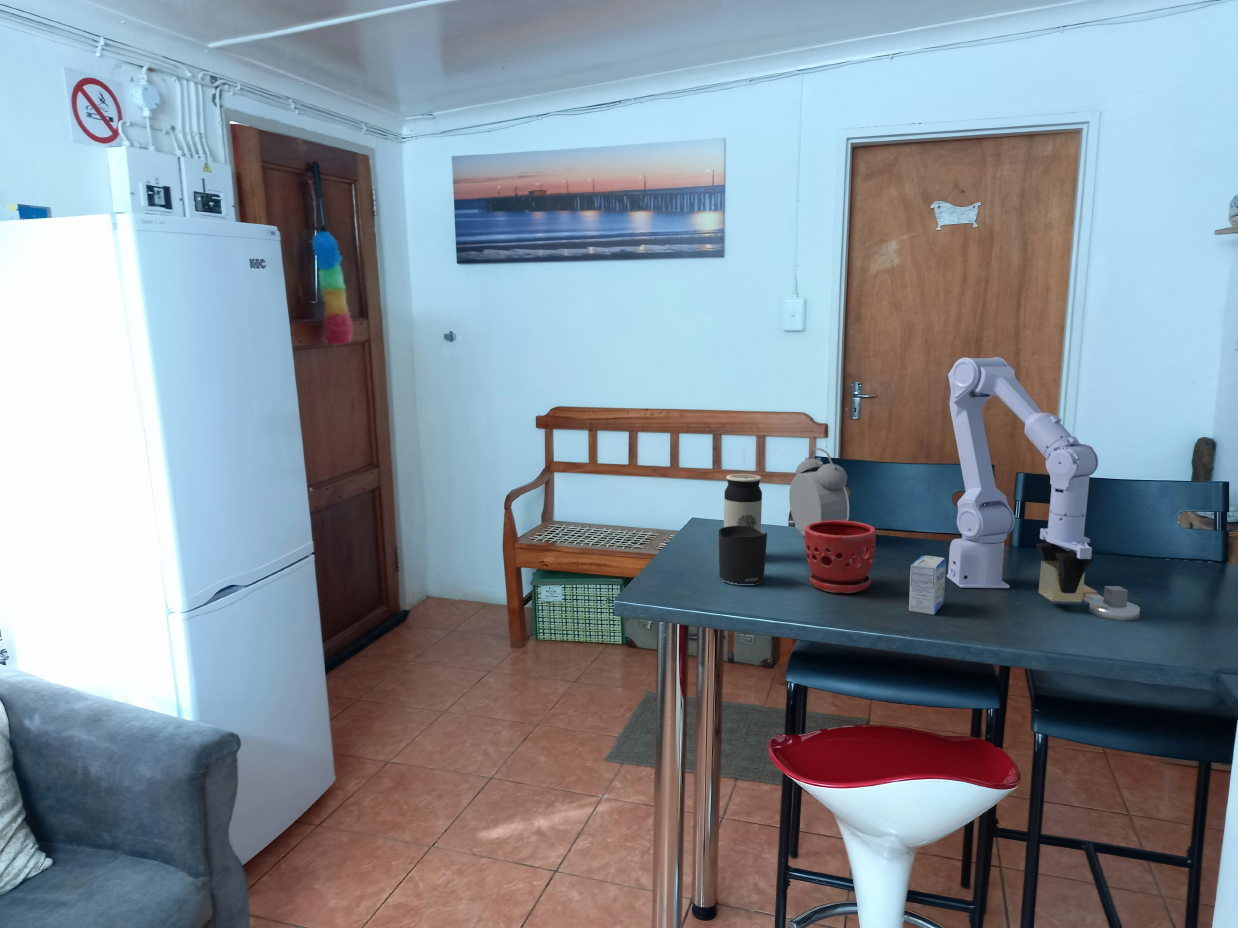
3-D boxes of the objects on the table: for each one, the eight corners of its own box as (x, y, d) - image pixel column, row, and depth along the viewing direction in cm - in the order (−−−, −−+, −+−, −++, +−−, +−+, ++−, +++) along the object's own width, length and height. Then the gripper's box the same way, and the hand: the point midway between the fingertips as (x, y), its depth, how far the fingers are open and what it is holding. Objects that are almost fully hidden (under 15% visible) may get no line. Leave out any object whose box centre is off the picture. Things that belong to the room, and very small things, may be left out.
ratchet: (1148, 621, 146) (1151, 595, 145) (1103, 620, 146) (1105, 594, 146) (1093, 590, 164) (1095, 567, 163) (1053, 589, 164) (1055, 566, 163)
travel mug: (723, 552, 190) (725, 473, 188) (759, 554, 189) (762, 474, 187) (722, 562, 183) (724, 479, 180) (760, 563, 181) (763, 480, 179)
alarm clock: (851, 546, 197) (856, 452, 193) (818, 549, 194) (822, 453, 191) (815, 531, 212) (819, 443, 209) (784, 533, 210) (787, 444, 207)
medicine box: (934, 616, 148) (937, 567, 147) (907, 611, 150) (910, 563, 149) (943, 604, 155) (946, 557, 153) (918, 600, 157) (921, 554, 156)
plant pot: (818, 574, 174) (820, 516, 172) (882, 585, 166) (885, 525, 164) (791, 589, 163) (794, 528, 161) (858, 601, 156) (862, 537, 154)
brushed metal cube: (1052, 601, 150) (1055, 568, 149) (1038, 592, 155) (1041, 560, 155) (1082, 601, 150) (1085, 568, 149) (1067, 592, 155) (1070, 560, 154)
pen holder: (713, 584, 166) (714, 534, 165) (722, 572, 175) (723, 524, 173) (761, 589, 163) (763, 538, 162) (768, 576, 172) (770, 527, 171)
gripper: (1112, 522, 143) (1105, 600, 145) (1069, 505, 158) (1063, 576, 160) (1070, 522, 143) (1063, 600, 145) (1031, 504, 158) (1025, 576, 160)
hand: (1060, 587), depth 153 cm, fingers closed on brushed metal cube, 5 cm apart
